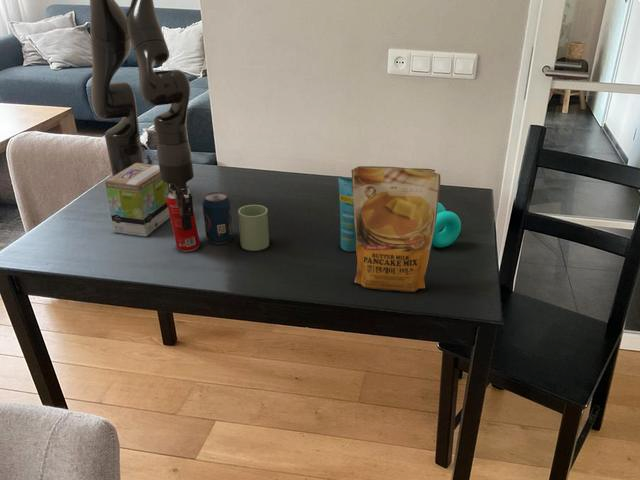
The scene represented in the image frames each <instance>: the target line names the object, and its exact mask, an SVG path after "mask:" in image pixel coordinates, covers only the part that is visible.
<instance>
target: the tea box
mask: <svg viewBox="0 0 640 480" xmlns="http://www.w3.org/2000/svg"><path fill="white" fill-rule="evenodd" d="M104 182H105V190H106V195H107V200H108V207H109V211H110V219H111V223H112V229H113V230H112V231H113V232H114V233H117V234H122V235H123V234H124V235H131V236H137V237H148V236H149V235H150V234H151V233H152V232H154V231H155V230H156V229H158V228H159V227H160V226H161V225H162V224H164V223H165V222H167V220H169V219H170V215H169V210H168V206H167V201H166V199H167V194H168V193H169V190H168V184H167V182H164V181H163V180H162V179H161V175H160V168H159V164H151V163H150V164H147V163H144V164H142V163H135V164H133V165H131V166H130V167H128V168H126V169H125V170H123V171H121V172H119V173H118V174H116V175H114V176H113V175H112V176H111V177H109V178H107V179H106V180H105V181H104Z"/></svg>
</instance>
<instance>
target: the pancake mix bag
mask: <svg viewBox="0 0 640 480" xmlns="http://www.w3.org/2000/svg"><path fill="white" fill-rule="evenodd" d="M350 171H351V178H352V192H353V208H354V224H355V231H356V251H355V252H356V260H357V261H356V263H357V265H356V274H355V276H354V277H355V278H354V282H353V283H354V284H358V285H360V286H362V287H363V288H365V289H372V290H381V291H382V290H383V291H397V292H408V293H409V292H410V293H415V292H417V291H418V290H421V289H425V288H426V283H425V276H426V272H427V269H428V265H429V264H428V263H429V258H430V252H431V248H432V245H431V244H432V239H433V234H434V228H435V223H436V219H437V210H438V202H439V200H440V199H439V198H440V190H441V173H439V172H436V169H431V168H419V167H418V168H416V167H415V168H413V167H409V168H408V167H401V166H400V167H399V166H379V165H378V166H373V165H371V166H370V165H367V166H366V165H362V166H361V165H359V166H356V167H354V168H352V169H351V170H350Z"/></svg>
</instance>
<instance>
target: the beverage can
mask: <svg viewBox="0 0 640 480" xmlns="http://www.w3.org/2000/svg"><path fill="white" fill-rule="evenodd" d="M166 201H167V206H168V210H169V215H170V218H169V219H170V224H171V227H172V232H173V236H174V237H173V238H174V241H175V245H176V246H175V247H176V249H177V250H178V251H180V252H184V253H186V252H187V253H188V252H193V251H196V250H197V249H198V248H199V247H200V245H201V241H200V238H199V232H198V227H197V222H196V217H195V211H194V210H193V213H194V215H193V216H191V221H192V229H191V230H186V231H185V230H183V228H182V221H181V216H180V210H179V208H178V207H177V205H176V200H175V198H174V196H173V195H172V193H171V192H169V193H168V194H167V199H166ZM178 202H179V203H180V204H181V200H179V199H178ZM185 211H188V209H185Z"/></svg>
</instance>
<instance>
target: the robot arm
mask: <svg viewBox="0 0 640 480" xmlns="http://www.w3.org/2000/svg"><path fill="white" fill-rule="evenodd" d="M89 10H90V11H89V29H90V30H89V31H90V32H89V33H90V46H91V59H92V61H91V63H92V67H91V69H92V70H91V87H90V94H91V95H90V98H91V99H90V100H91V107H92V110H93V113H94V114H95V116H96V117H97V118H99V119H100V120H115V119H121V120H120V121H119V122H118V123H117V124H116V125H114V126H113V127H111V128H109V129H107V130H106V131H105V132H104V141H105V144H106V149H107V154H108V159H109V165H110V170H111V175H112V177H113V176H114V175H116V174H118V173H119V172H121V171H123V170H125V169H126V168H128V167H130V166H131V165H133V164H135V163H142V164H145V159H144V158H145V157H144V152H143V148H142V141H141V140H142V139H141V136H140V125H139V124H140V123H139V118H138V116H139V115H138V108H137V106H138V105H137V98H136V95H135V92H134V89H133V87H132V85H131V84H130V83H129V82H125V81H120V82H111V81H112V79H113V77H114V75H115V74H116V73H117V72H118V71H119V69H120V68H121V67H122V65H123V64H124V63H125V61H126V60H127V58H128V57H129V56H130V53H131V49H132V48H133V51H134V54H135V57H136V61H137V66H138V67H137V68H138V75H139V92H140V95H141V97H142V99H143V100H144V102H146V104H148V105H149V106H152V107H158V106H165V105H170V107H169V109H168V110H166V111H165V112H163V113H162V112H161V113H159V114H158V115H156V116H155V117H154V119H153V128H154V133H155V139H156V140H155V141H156V154H157V161H158V165H159V168H160V175H161V179H162V180H163V181H164V182H167V184H168V190H169V192H171V193H172V195H173V196H174V198H175V200H176V205H177V207H178V208H179V210H180V216H181V221H182V228H183V230H185V231H186V230H191V229H192V221H191V216H193V215H194V216H195V212H194V213H193V211H194V203H193V194H192V192H191V190H190V187H189V185H188V186H187V182H189V181H191V180H192V179H194V175H195V174H194V166H193V158H192V151H191V150H192V149H191V145H190V142H189V135H188V129H187V128H188V127H187V118H188V109H189V105H190V104H189V103H190V98H191V84H190V80H189V78H188V76H187V75H186V74H185V73H184V72H183V71H182V70H180V69H168V70H160V71H154V68H156V67H158V66H161V65H163V64H165V63H166V62H168V60H169V59H170V51H169V47H168V45H167V42H166V39H165V36H164V33H163V30H162V28H161V25H160V23H159V19H158V15H157V12H156V8H155V3H154V0H131V2H130V6H129V9H128V12H127V15H126V13H125V12H124V11H123V9H122V7H121V6H120V5H119V4H118V3H117V1H116V0H89ZM146 158H147V163H146V164H151V157H150V156H149V155H146ZM178 199H179V200H181V204H180V203H179V202H178ZM185 209H188V211H185Z"/></svg>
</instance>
